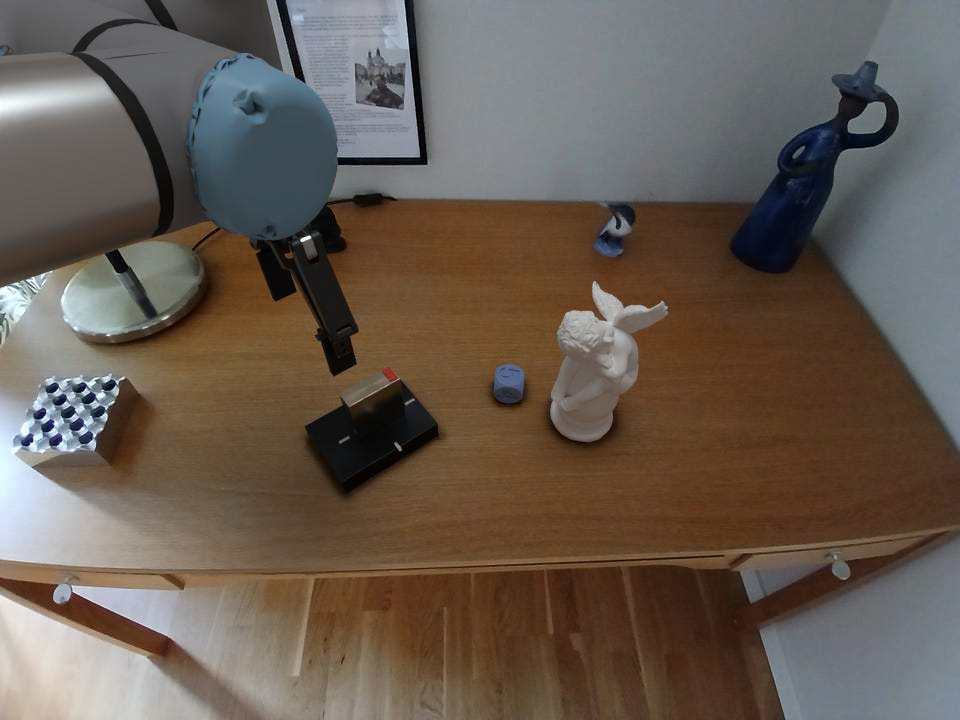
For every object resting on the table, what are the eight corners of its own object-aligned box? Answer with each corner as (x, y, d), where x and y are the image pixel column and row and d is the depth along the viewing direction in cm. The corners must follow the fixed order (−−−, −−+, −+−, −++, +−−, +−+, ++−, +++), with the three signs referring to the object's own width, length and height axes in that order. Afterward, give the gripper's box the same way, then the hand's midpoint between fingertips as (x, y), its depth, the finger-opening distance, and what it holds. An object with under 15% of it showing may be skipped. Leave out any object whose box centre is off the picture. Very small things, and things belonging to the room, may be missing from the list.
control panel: (348, 497, 69) (343, 485, 66) (307, 435, 74) (301, 422, 72) (441, 438, 74) (440, 425, 72) (396, 385, 80) (394, 371, 77)
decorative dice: (521, 404, 78) (523, 387, 75) (493, 402, 78) (494, 385, 75) (523, 382, 80) (525, 364, 77) (495, 379, 81) (496, 362, 77)
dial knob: (358, 440, 70) (348, 405, 64) (349, 428, 71) (338, 392, 65) (405, 413, 73) (399, 377, 67) (396, 401, 74) (389, 364, 68)
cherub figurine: (543, 443, 74) (565, 331, 57) (536, 370, 82) (554, 252, 65) (634, 443, 74) (683, 331, 57) (618, 370, 82) (657, 253, 65)
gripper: (376, 205, 39) (404, 385, 56) (235, 78, 52) (292, 256, 68) (278, 247, 36) (338, 423, 53) (153, 102, 49) (233, 281, 65)
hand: (312, 329), depth 61 cm, fingers open, 13 cm apart
